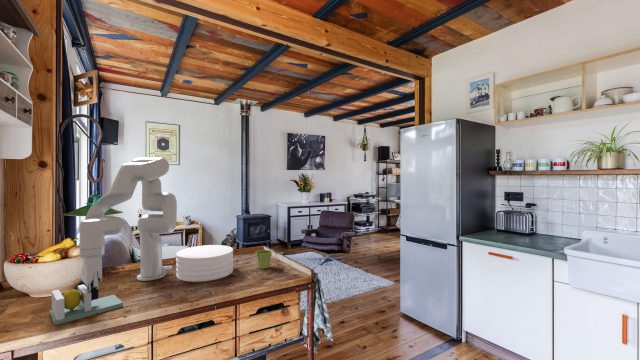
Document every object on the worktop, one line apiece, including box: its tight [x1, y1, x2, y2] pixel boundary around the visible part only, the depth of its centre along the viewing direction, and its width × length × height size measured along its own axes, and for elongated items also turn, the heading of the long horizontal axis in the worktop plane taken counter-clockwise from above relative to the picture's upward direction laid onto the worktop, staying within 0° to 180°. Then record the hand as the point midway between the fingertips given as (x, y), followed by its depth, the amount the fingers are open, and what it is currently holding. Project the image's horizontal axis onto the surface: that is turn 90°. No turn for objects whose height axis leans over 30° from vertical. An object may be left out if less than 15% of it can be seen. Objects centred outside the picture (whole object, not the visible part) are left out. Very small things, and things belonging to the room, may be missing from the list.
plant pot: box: [254, 249, 273, 270], centre depth 167 cm, size 9×9×9 cm
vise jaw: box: [77, 284, 91, 312], centre depth 113 cm, size 2×12×7 cm, turn 48°
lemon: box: [62, 288, 81, 310], centre depth 110 cm, size 6×6×8 cm
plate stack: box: [175, 244, 234, 282], centre depth 159 cm, size 28×28×12 cm
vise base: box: [49, 289, 124, 326], centre depth 114 cm, size 20×12×8 cm, turn 138°
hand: (92, 299), depth 115 cm, fingers closed
